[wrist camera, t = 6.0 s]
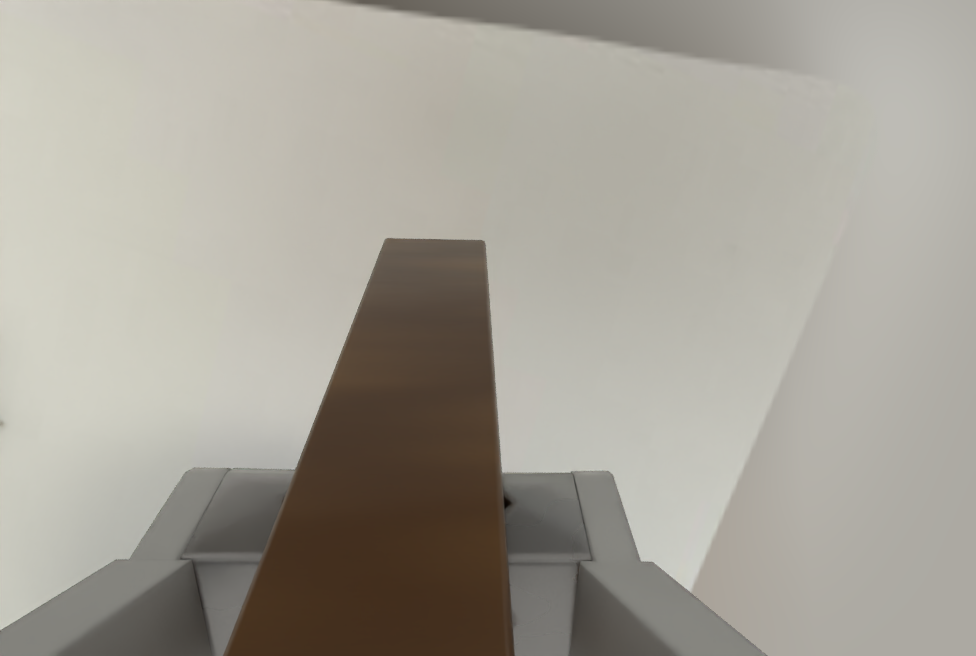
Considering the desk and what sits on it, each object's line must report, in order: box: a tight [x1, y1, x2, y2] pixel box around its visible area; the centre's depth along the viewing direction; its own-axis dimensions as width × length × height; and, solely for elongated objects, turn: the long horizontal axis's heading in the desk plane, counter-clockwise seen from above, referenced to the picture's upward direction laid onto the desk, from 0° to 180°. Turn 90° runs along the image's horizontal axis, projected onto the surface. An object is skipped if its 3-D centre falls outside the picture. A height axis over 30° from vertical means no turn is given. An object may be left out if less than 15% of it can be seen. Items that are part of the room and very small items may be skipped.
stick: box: [223, 238, 515, 656], centre depth 10 cm, size 2×2×14 cm
